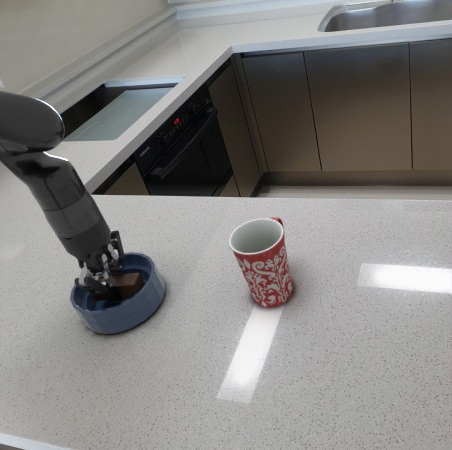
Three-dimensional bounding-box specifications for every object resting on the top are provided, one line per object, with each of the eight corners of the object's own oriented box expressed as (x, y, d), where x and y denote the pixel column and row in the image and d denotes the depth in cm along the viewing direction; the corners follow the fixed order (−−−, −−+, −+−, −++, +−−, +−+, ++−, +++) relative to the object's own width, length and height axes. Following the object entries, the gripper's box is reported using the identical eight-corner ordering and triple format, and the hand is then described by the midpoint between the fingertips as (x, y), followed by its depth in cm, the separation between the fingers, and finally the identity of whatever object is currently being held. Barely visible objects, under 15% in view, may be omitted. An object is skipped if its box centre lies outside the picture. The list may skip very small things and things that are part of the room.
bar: (95, 301, 84) (86, 288, 82) (101, 289, 87) (93, 276, 85) (140, 297, 83) (133, 284, 81) (146, 285, 85) (139, 272, 83)
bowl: (116, 348, 78) (101, 326, 74) (70, 316, 86) (54, 294, 83) (182, 290, 87) (171, 267, 83) (134, 265, 95) (122, 243, 91)
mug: (286, 316, 77) (269, 257, 69) (239, 307, 81) (218, 249, 72) (312, 265, 86) (300, 207, 78) (269, 258, 89) (253, 202, 81)
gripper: (75, 197, 80) (116, 268, 91) (34, 251, 69) (85, 324, 80) (114, 193, 79) (151, 265, 90) (79, 246, 68) (125, 322, 79)
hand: (120, 293), depth 85 cm, fingers closed on bar, 3 cm apart
